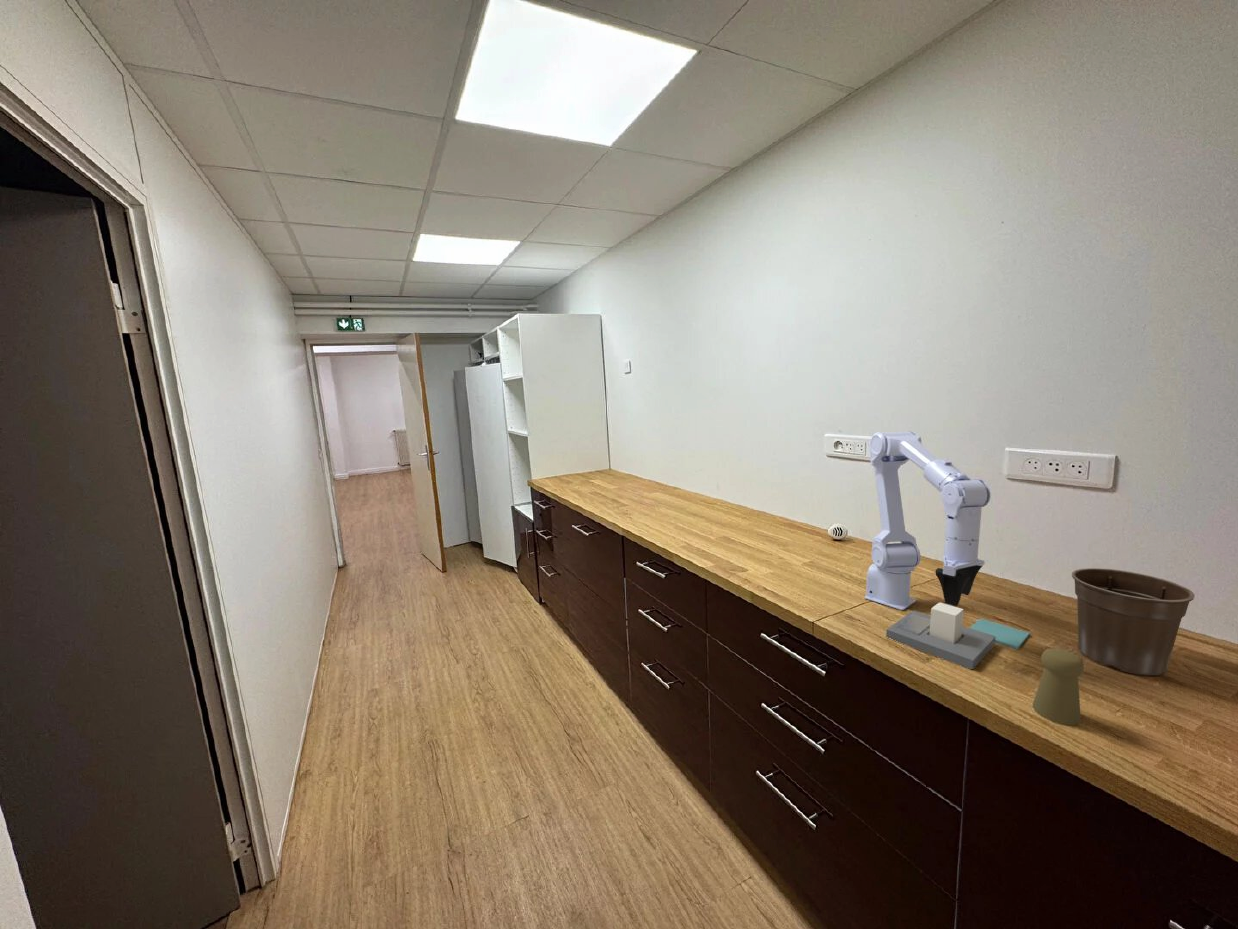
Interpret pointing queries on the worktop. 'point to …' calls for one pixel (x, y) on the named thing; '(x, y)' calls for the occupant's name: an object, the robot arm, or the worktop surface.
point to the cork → (1059, 687)
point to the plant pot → (1128, 618)
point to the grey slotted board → (917, 636)
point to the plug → (946, 622)
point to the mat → (1002, 633)
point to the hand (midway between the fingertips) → (957, 598)
